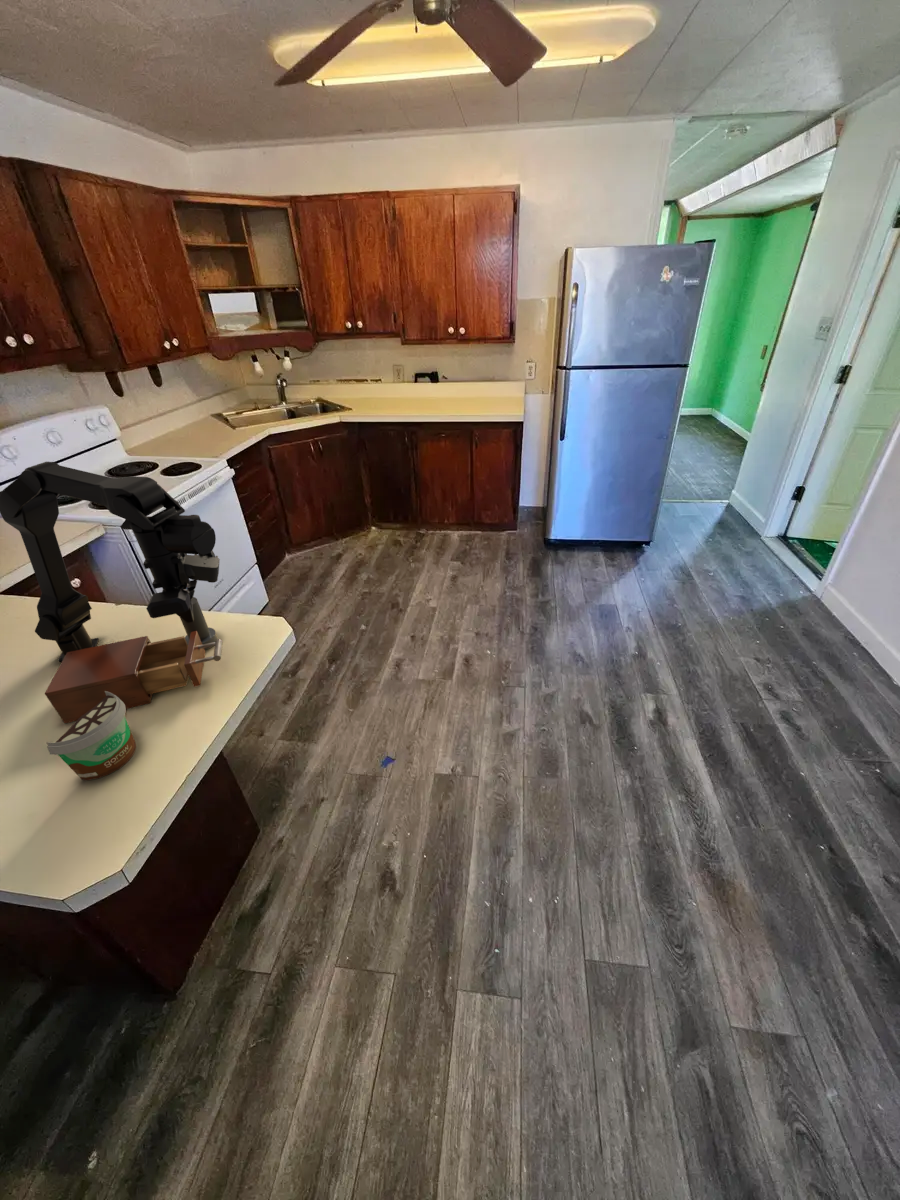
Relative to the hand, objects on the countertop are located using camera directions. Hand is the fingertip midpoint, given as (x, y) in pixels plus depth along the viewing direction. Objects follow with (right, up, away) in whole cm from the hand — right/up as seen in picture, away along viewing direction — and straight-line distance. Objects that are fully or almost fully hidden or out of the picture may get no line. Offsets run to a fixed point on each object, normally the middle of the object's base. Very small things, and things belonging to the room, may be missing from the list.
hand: (190, 621), depth 95 cm
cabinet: (-16, -14, +2) cm, 21 cm away
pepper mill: (-5, -4, +13) cm, 15 cm away
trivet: (-5, -6, +14) cm, 16 cm away
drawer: (-5, -11, +4) cm, 13 cm away
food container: (-5, -23, -13) cm, 27 cm away
